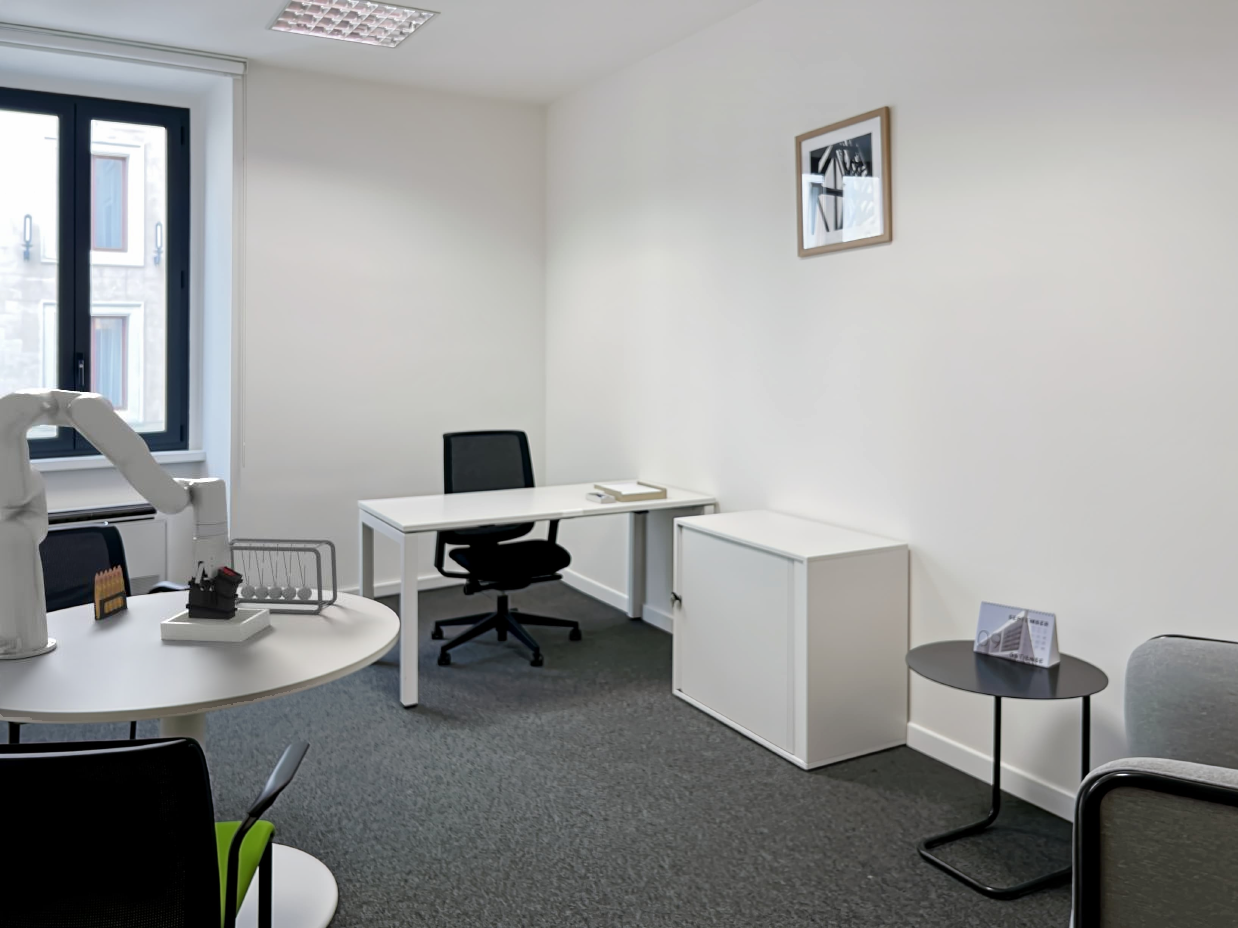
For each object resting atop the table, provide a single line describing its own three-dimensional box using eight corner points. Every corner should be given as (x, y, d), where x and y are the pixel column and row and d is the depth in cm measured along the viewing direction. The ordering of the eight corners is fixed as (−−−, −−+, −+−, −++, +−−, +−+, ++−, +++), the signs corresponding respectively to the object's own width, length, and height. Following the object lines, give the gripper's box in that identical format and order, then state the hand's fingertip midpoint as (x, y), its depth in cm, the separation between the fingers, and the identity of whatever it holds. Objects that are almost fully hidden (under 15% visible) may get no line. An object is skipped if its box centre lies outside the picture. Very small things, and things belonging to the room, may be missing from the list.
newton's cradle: (338, 603, 247) (335, 539, 245) (321, 614, 237) (319, 548, 235) (233, 601, 250) (229, 537, 248) (212, 611, 240) (208, 545, 238)
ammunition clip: (101, 619, 232) (97, 574, 231) (94, 619, 233) (91, 573, 231) (127, 608, 243) (124, 564, 241) (121, 608, 243) (118, 564, 242)
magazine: (183, 607, 225) (205, 554, 222) (229, 631, 224) (251, 578, 221) (174, 611, 221) (195, 557, 219) (221, 636, 220) (243, 582, 218)
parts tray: (240, 642, 214) (240, 625, 214) (161, 639, 217) (160, 622, 216) (270, 624, 228) (269, 609, 228) (195, 621, 230) (194, 606, 230)
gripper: (215, 522, 228) (219, 594, 230) (176, 536, 211) (180, 612, 214) (243, 523, 227) (247, 594, 229) (206, 536, 211) (210, 613, 213)
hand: (215, 602), depth 221 cm, fingers closed on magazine, 3 cm apart
